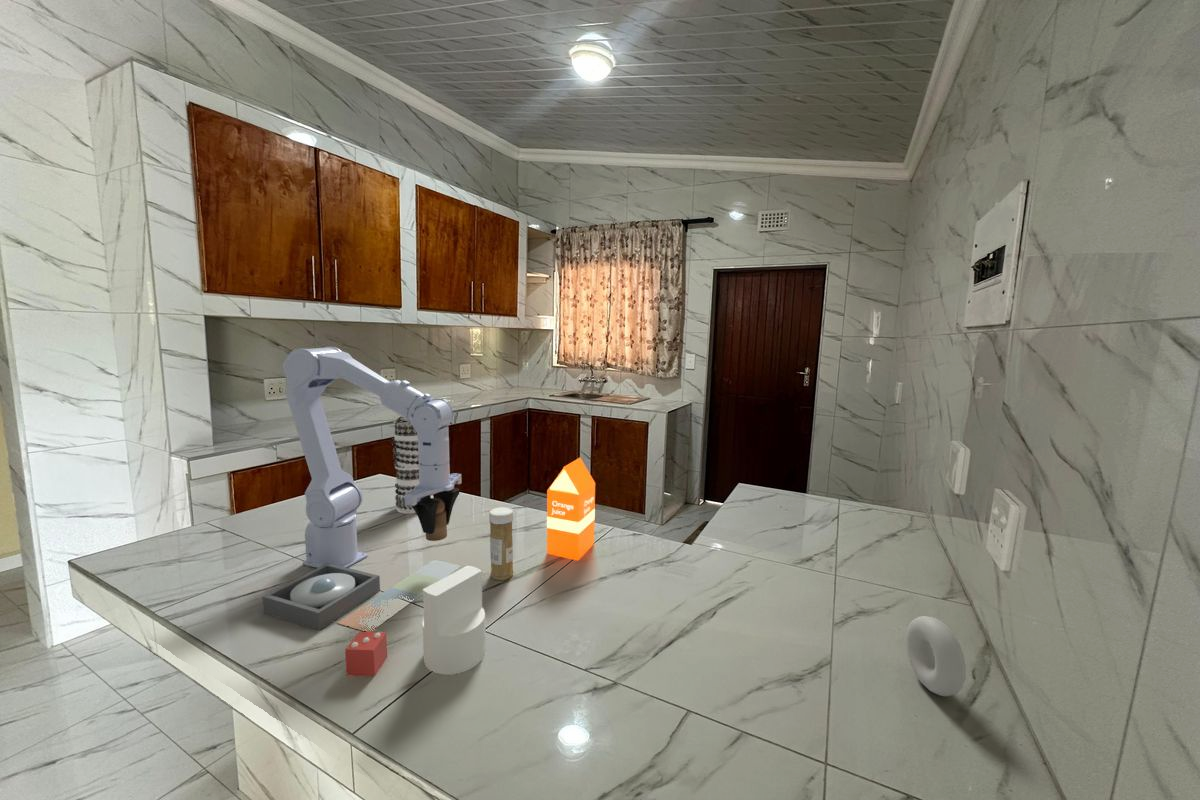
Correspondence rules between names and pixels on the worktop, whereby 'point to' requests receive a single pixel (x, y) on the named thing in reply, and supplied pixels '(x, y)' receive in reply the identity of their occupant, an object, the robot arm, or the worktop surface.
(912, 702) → the worktop surface
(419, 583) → the strip
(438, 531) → the walnut pawn
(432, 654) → the cylinder with rectangular tab
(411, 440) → the decorative candle
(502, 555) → the sprinkles bottle
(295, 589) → the dome
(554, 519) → the orange juice
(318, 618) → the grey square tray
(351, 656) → the red die
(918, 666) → the donut
